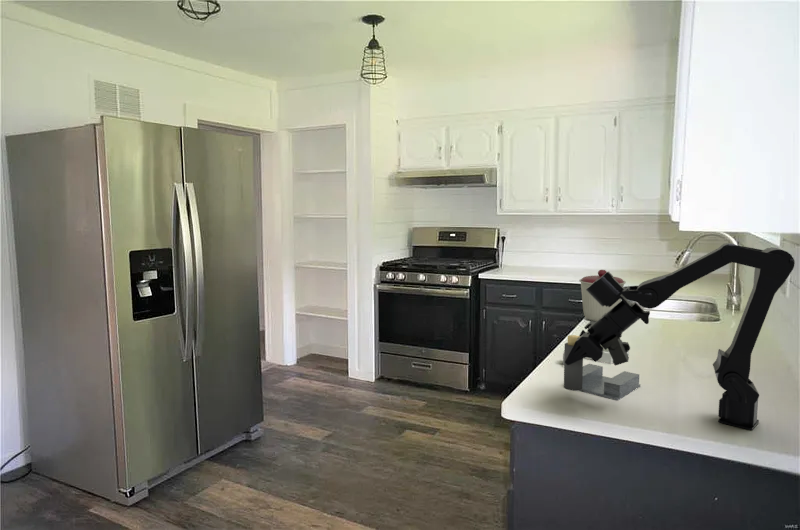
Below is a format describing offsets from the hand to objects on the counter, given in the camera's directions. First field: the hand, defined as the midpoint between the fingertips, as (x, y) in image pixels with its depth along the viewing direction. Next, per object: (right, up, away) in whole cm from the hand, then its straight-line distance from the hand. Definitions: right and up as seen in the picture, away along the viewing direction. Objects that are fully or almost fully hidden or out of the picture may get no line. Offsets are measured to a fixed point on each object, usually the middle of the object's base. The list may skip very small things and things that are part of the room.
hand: (567, 361), depth 135 cm
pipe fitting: (+23, -5, +40) cm, 46 cm away
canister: (+42, +1, +92) cm, 101 cm away
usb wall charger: (+10, -7, +29) cm, 31 cm away
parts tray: (+22, -5, +39) cm, 45 cm away
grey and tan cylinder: (+1, -7, 0) cm, 7 cm away
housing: (+12, -9, +9) cm, 18 cm away
